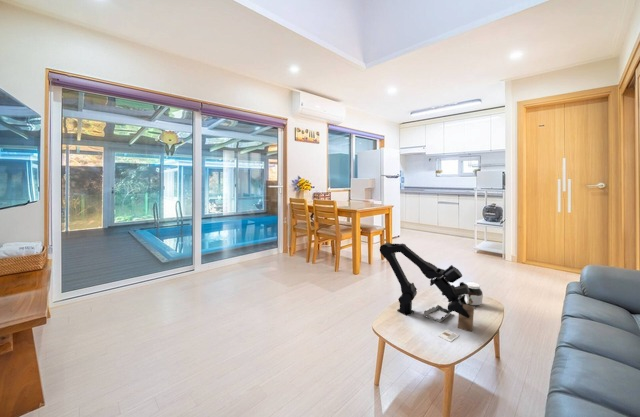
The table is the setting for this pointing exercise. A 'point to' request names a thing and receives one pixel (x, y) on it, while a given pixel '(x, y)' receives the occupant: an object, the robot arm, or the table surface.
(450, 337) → the card
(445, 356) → the table surface
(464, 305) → the walnut block
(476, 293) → the spread jar
